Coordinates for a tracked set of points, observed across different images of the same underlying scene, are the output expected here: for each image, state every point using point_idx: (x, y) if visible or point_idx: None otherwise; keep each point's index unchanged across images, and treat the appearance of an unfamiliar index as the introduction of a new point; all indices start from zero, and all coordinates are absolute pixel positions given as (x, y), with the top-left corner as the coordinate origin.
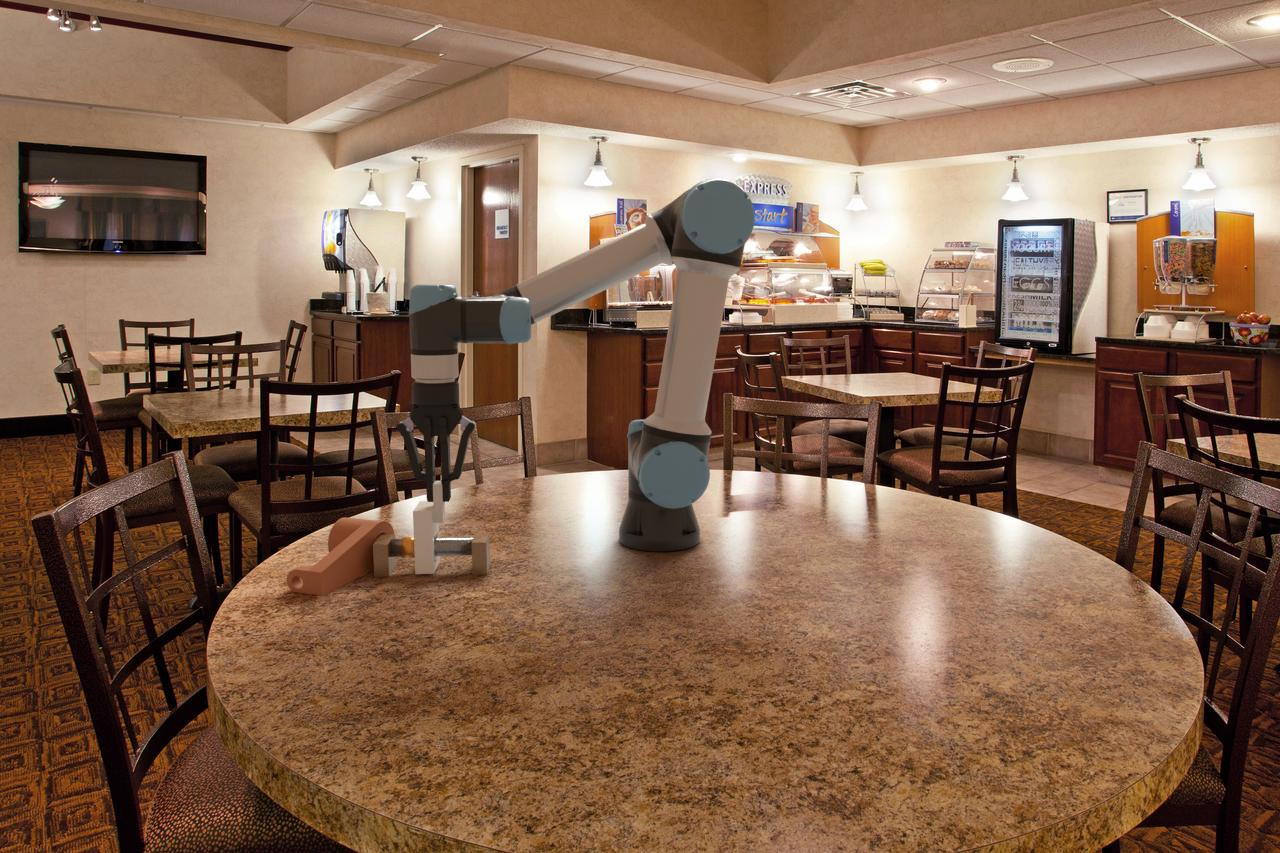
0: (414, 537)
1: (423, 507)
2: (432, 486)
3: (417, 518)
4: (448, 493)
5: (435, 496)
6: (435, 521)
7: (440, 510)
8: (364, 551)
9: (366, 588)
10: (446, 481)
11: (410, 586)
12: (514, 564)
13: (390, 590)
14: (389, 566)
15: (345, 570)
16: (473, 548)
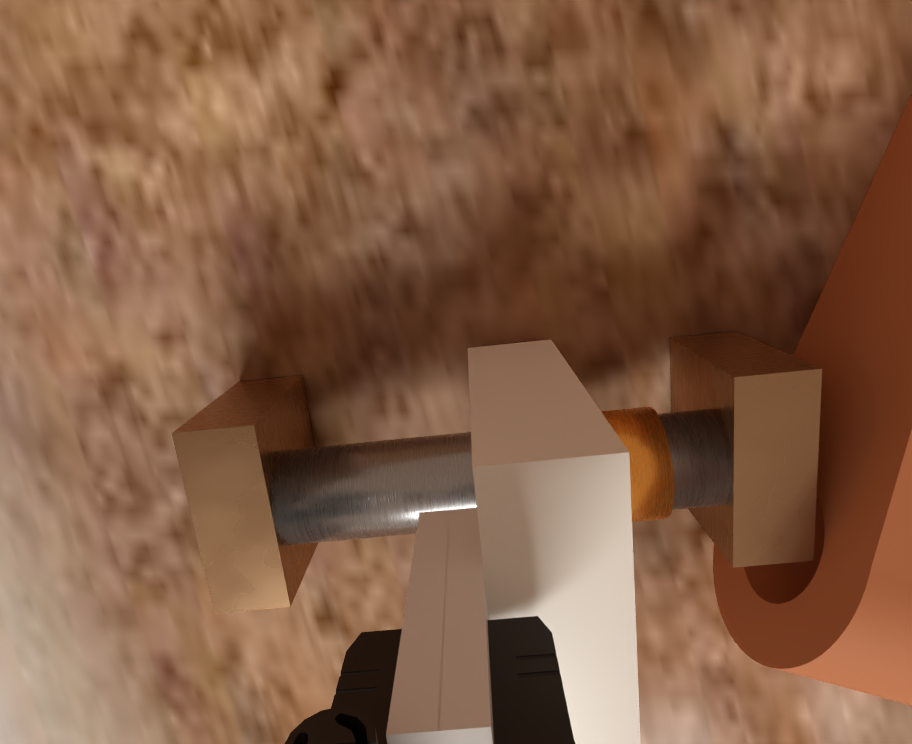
0: (580, 386)
1: (569, 578)
2: (504, 733)
3: (581, 434)
4: (348, 686)
5: (464, 632)
6: (469, 511)
7: (428, 558)
8: (849, 405)
9: (739, 171)
10: (307, 740)
11: (541, 208)
12: (163, 520)
13: (620, 146)
14: (684, 362)
15: (890, 238)
16: (254, 414)
